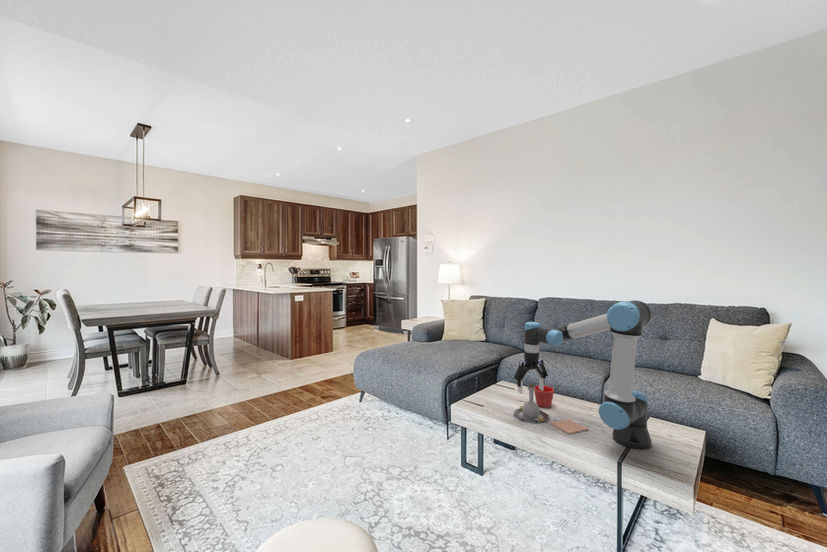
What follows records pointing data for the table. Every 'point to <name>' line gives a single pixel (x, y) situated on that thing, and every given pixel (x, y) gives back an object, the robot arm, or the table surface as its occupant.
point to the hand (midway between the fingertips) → (530, 391)
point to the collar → (540, 419)
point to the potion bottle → (531, 405)
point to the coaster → (569, 426)
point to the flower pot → (544, 396)
